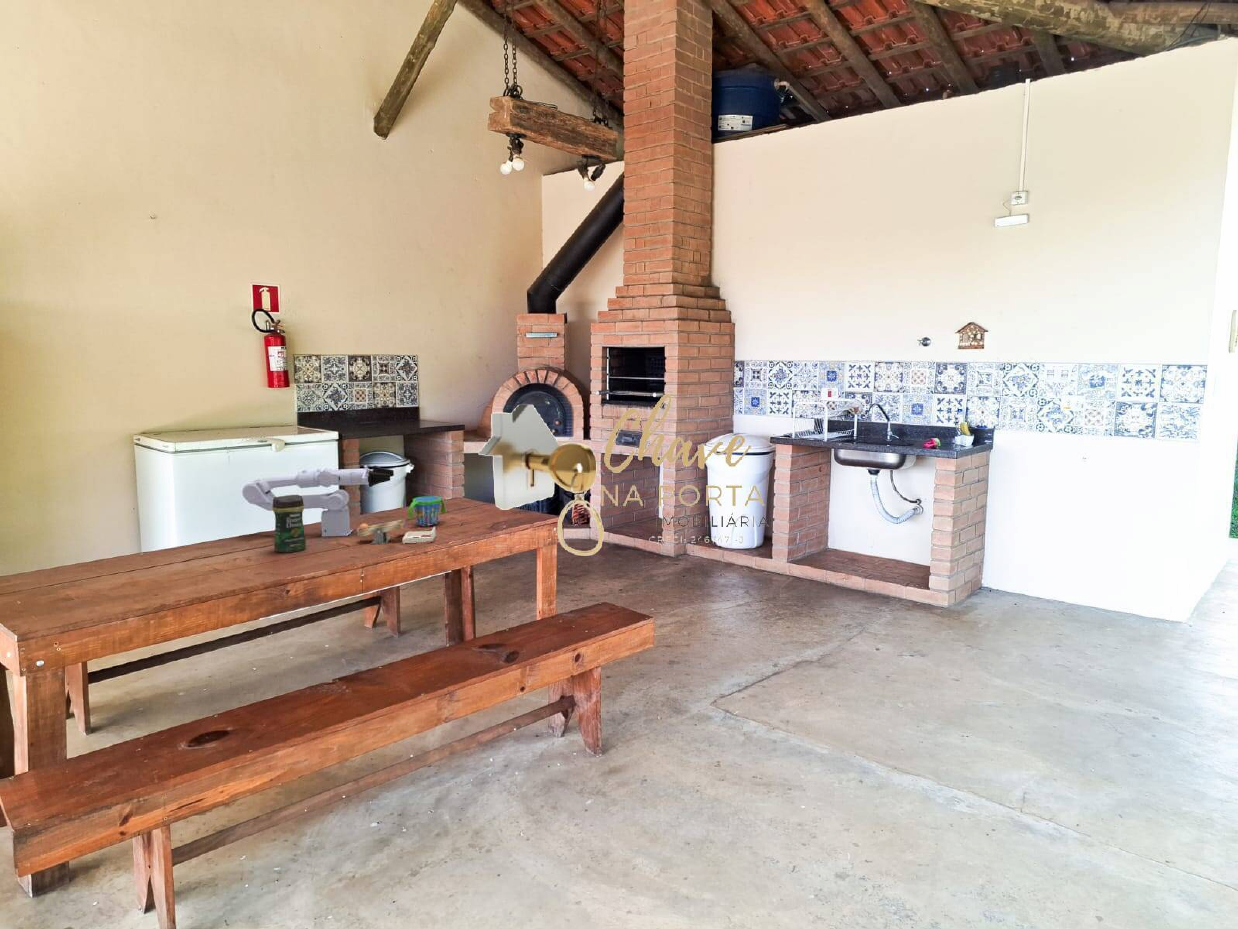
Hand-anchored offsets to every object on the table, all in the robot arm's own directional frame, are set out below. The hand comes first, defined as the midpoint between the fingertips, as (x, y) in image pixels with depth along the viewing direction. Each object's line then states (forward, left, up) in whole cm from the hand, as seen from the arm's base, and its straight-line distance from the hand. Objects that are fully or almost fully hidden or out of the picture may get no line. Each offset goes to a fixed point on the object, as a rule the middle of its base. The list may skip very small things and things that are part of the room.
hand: (391, 475), depth 291 cm
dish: (+11, -13, -21) cm, 27 cm away
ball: (-8, -13, -16) cm, 22 cm away
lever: (-2, -9, -18) cm, 20 cm away
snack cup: (+11, +12, -22) cm, 27 cm away
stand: (-2, -13, -21) cm, 25 cm away
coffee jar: (-30, -22, -22) cm, 43 cm away
